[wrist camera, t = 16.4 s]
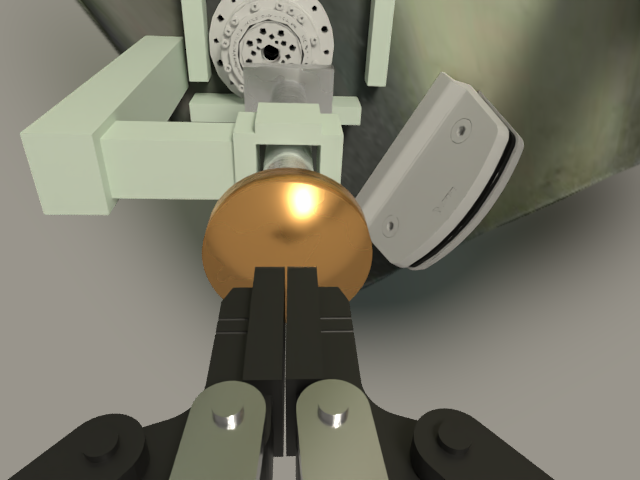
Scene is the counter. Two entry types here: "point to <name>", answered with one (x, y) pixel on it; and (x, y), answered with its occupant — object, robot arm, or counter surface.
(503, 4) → the counter surface
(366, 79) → the frame
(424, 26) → the counter surface
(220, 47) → the mechanical component
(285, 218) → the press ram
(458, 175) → the grey curved housing
